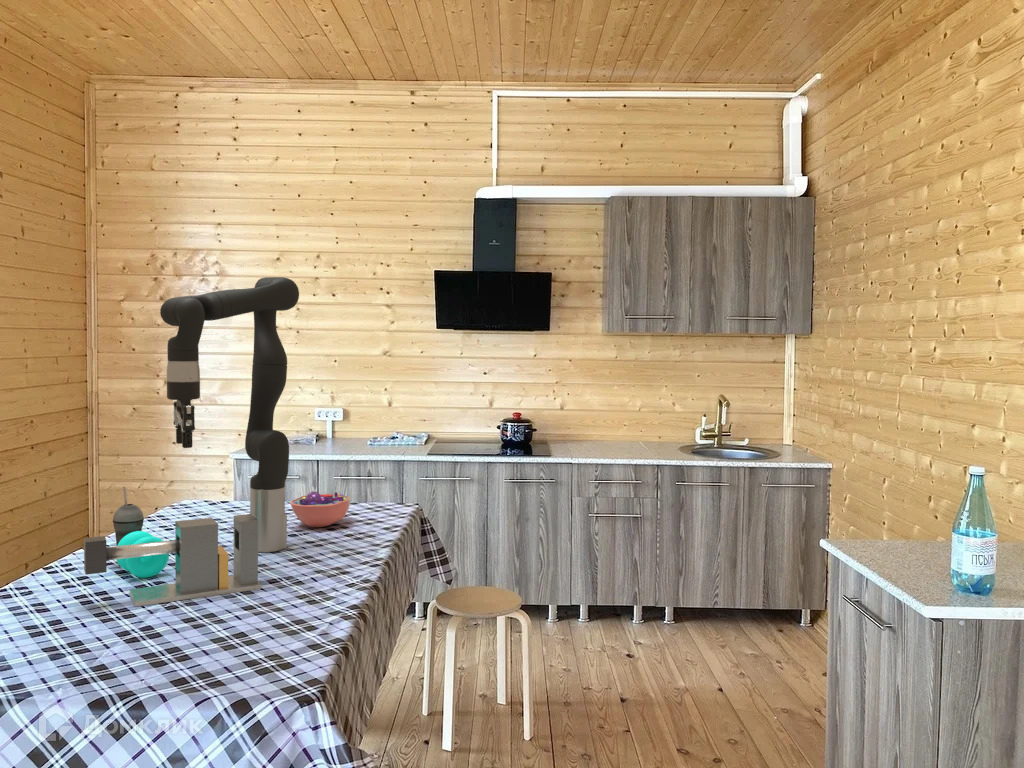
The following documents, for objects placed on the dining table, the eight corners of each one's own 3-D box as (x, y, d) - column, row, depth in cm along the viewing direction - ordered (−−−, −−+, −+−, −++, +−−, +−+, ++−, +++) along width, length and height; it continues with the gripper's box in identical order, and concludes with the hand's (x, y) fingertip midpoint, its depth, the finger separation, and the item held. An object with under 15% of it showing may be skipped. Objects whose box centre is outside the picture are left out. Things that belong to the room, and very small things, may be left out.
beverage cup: (131, 569, 200) (131, 490, 198) (106, 567, 201) (105, 488, 200) (150, 561, 207) (150, 485, 206) (125, 559, 208) (125, 483, 207)
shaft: (207, 555, 187) (207, 525, 187) (211, 559, 184) (211, 529, 183) (84, 569, 174) (84, 538, 173) (85, 574, 170) (85, 542, 170)
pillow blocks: (251, 577, 196) (251, 512, 195) (261, 588, 187) (261, 521, 186) (129, 593, 181) (129, 524, 180) (134, 606, 173) (134, 533, 172)
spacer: (220, 578, 191) (220, 545, 190) (228, 587, 184) (228, 553, 184) (212, 579, 190) (212, 546, 189) (219, 589, 183) (219, 554, 182)
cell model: (363, 523, 255) (363, 488, 254) (316, 535, 238) (317, 498, 237) (325, 516, 264) (325, 482, 263) (277, 527, 247) (278, 491, 246)
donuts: (155, 565, 203) (155, 527, 203) (171, 574, 196) (170, 534, 196) (113, 573, 196) (113, 533, 196) (128, 582, 189) (128, 541, 189)
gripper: (205, 381, 191) (206, 448, 192) (194, 377, 203) (194, 441, 204) (171, 381, 187) (172, 450, 188) (162, 378, 199) (163, 442, 200)
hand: (184, 445), depth 196 cm, fingers open, 8 cm apart
